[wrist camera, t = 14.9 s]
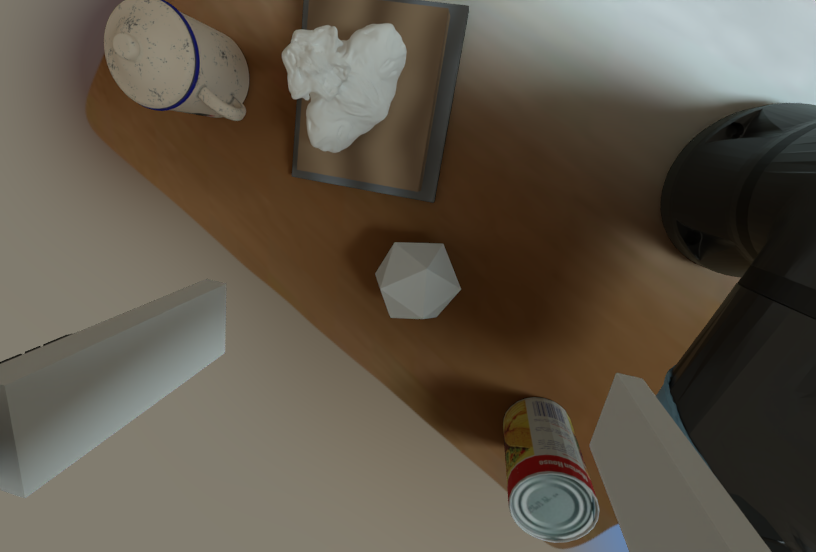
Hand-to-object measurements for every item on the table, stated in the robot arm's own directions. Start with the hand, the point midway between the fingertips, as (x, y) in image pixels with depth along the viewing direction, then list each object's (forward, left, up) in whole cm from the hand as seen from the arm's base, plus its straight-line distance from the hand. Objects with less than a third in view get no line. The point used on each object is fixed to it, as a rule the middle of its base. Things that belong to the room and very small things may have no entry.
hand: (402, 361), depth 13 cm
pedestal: (+11, -11, -31) cm, 34 cm away
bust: (+12, -11, -28) cm, 32 cm away
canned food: (-14, +22, -31) cm, 40 cm away
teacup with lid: (+28, -10, -31) cm, 43 cm away
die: (+3, +6, -31) cm, 32 cm away
